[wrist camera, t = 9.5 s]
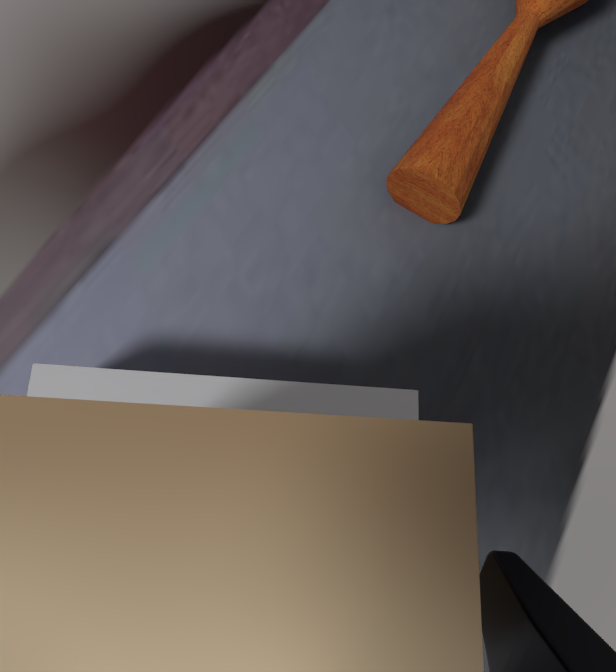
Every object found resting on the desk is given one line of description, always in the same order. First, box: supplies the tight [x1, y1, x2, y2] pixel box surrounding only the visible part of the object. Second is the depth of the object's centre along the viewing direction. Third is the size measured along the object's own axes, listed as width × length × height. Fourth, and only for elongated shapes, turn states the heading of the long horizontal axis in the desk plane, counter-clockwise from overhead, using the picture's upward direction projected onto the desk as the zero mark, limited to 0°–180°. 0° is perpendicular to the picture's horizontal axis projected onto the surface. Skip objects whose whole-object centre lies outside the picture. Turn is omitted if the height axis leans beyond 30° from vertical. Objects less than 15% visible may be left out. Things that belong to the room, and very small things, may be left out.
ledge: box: [27, 364, 419, 420], centre depth 18 cm, size 9×12×4 cm
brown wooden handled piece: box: [386, 0, 589, 224], centre depth 25 cm, size 6×6×20 cm
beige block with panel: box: [0, 395, 484, 672], centre depth 12 cm, size 4×6×13 cm, turn 88°
